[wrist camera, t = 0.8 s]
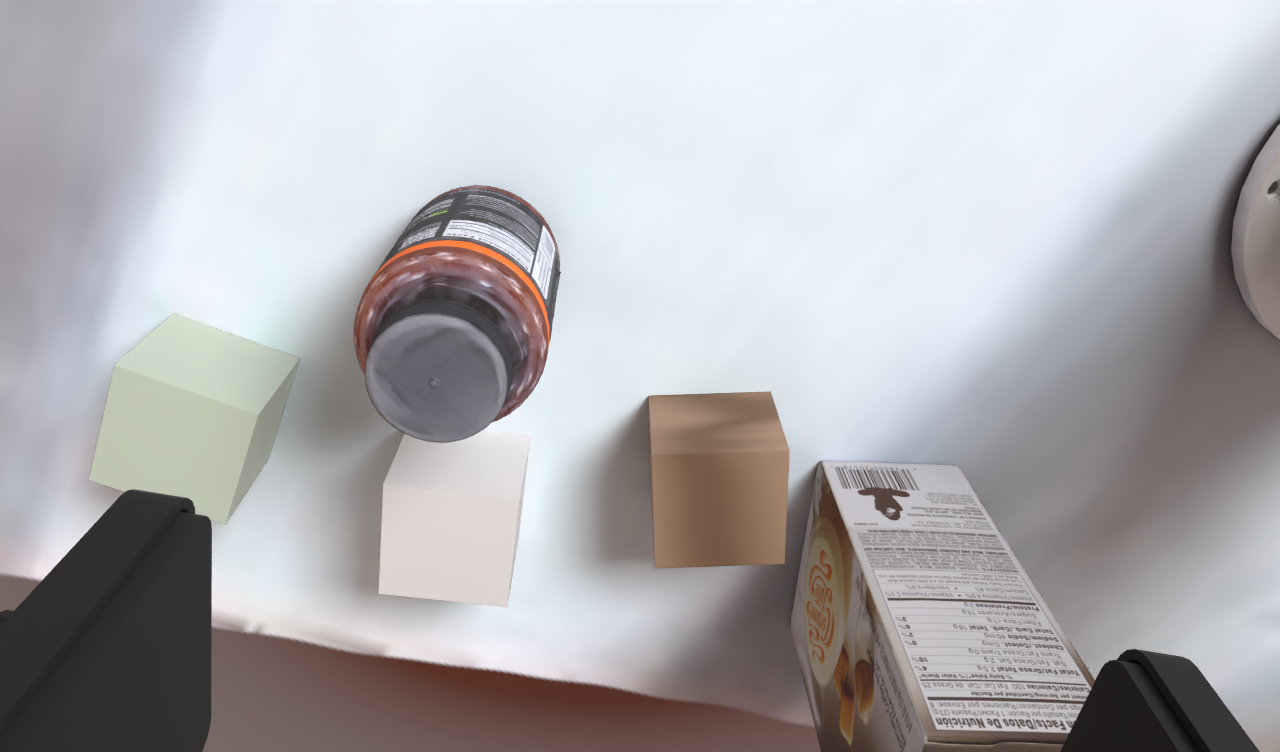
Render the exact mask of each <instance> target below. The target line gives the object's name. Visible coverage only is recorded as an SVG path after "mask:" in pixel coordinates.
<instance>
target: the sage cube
mask: <svg viewBox="0 0 1280 752" xmlns="http://www.w3.org/2000/svg"><path fill="white" fill-rule="evenodd" d="M299 360H300V358H298V357H296V356H293V355H290V354H287V353H285V352H282V351H279V350H276V349H274V348H271V347H268V346H265V345H262V344H260V343H257V342H254V341H251V340H249V339H246V338H243V337H240V336H238V335H235V334H232V333H229V332H226V331H224V330H221V329H218V328H215V327H213V326H210V325H207V324H204V323H202V322H199V321H196V320H193V319H190V318H188V317H185V316H182V315H179V314H177V313H173V314H172V315H171V316H170V317H169V318H167V319H166V320H165V321H164V322H163V323H162V324H161V325H159V326H158V327H157V328H156V329H155V330H154V331H153V332H151V333H150V334H149V335H148V336H147V337H146V338H145V339H144V340H142V341H141V342H140V343H139V344H138V345H137V346H136V347H134V348H133V349H132V350H131V351H130V352H129V353H128V354H126V355H125V356H124V357H123V358H122V359H121V360H120V361H118V362H117V363H116V364H115V365H114V370H113V374H112V378H111V383H110V387H109V392H108V396H107V401H106V405H105V410H104V414H103V418H102V423H101V427H100V432H99V436H98V441H97V445H96V450H95V454H94V459H93V463H92V467H91V472H90V476H89V480H90V481H93V482H96V483H99V484H102V485H105V486H108V487H111V488H114V489H117V490H121V491H124V492H126V491H127V490H132V489H135V490H141V491H148V492H154V493H160V494H166V495H173V496H179V497H185V498H189V499H190V500H192V501H193V504H194V506H195V514H198V515H204V516H207V517H209V519H210V520H213V521H216V522H219V523H222V524H225V525H226V523H227V521H228V520H229V518H230V517H231V515H232V514H233V512H234V511H235V509H236V508H237V506H238V505H239V503H240V502H241V500H242V499H243V497H244V496H245V494H246V493H247V491H248V489H249V488H250V486H251V485H252V483H253V482H254V480H255V479H256V477H257V476H258V474H259V473H260V471H261V470H262V468H263V467H264V465H265V464H266V462H267V461H268V459H269V456H270V453H271V450H272V447H273V443H274V440H275V437H276V434H277V431H278V427H279V424H280V421H281V418H282V414H283V411H284V408H285V405H286V402H287V398H288V395H289V392H290V389H291V386H292V382H293V379H294V376H295V373H296V370H297V366H298V363H299Z"/></svg>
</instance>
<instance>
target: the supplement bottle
mask: <svg viewBox="0 0 1280 752" xmlns="http://www.w3.org/2000/svg"><path fill="white" fill-rule="evenodd" d="M560 273H561V272H560V261H559V253H558V247H557V244H556V241H555V238H554V236H553V234H552V231H551V229H550V227H549V226H548V224H547V223H546V221H545V220H544V218H543V217H542V216H541V214H540V213H539V212H538V211H537V210H536V209H535V208H534V207H533V206H531V205H530V204H529V203H528V202H526V201H525V200H523V199H522V198H520V197H518V196H517V195H515V194H512V193H510V192H508V191H506V190H502V189H499V188H495V187H490V186H480V185H473V186H468V187H460V188H457V189H452V190H450V191H448V192H445V193H443V194H441V195H439V196H437V197H436V198H435V199H433V200H432V201H431V202H429V203H428V204H427V205H426V206H425V207H424V208H422V209H421V210H420V211H419V212H418V213H417V214H416V216H415V217H414V218H413V220H412V221H411V222H410V224H409V225H408V227H407V228H406V229H405V231H404V232H403V234H402V235H401V237H400V238H399V239H398V241H397V242H396V244H395V246H394V247H393V248H392V250H391V251H390V253H389V254H388V256H387V257H386V259H385V260H384V262H383V263H382V265H381V266H380V267H379V269H378V271H377V272H376V273H375V275H374V276H373V278H372V280H371V281H370V282H369V284H368V286H367V287H366V289H365V291H364V293H363V295H362V298H361V300H360V303H359V306H358V309H357V313H356V317H355V324H354V344H355V350H356V355H357V359H358V361H359V364H360V367H361V369H362V371H363V373H364V375H365V384H366V388H367V391H368V394H369V397H370V399H371V401H372V403H373V405H374V406H375V408H376V410H377V411H378V412H379V414H380V415H381V416H382V417H383V418H384V419H385V420H386V421H387V422H388V423H389V424H391V425H392V426H393V427H394V428H396V429H398V430H399V431H401V432H403V433H404V434H406V435H409V436H411V437H413V438H416V439H420V440H423V441H427V442H437V443H449V442H455V441H459V440H464V439H466V438H468V437H471V436H474V435H475V434H477V433H479V432H480V431H482V430H483V429H485V428H486V427H487V426H488V425H489V424H490V423H492V422H494V421H497V420H499V419H501V418H503V417H505V416H507V415H508V414H510V413H511V412H512V411H514V410H515V409H516V408H518V407H519V406H520V405H521V404H522V403H523V402H524V401H525V400H526V399H527V398H528V396H529V395H530V394H531V393H532V391H533V390H534V388H535V386H536V385H537V383H538V381H539V379H540V377H541V375H542V373H543V370H544V367H545V363H546V359H547V354H548V347H549V342H550V339H551V331H552V322H553V317H554V309H555V302H556V295H557V289H558V283H559V277H560Z"/></svg>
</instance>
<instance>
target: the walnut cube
mask: <svg viewBox="0 0 1280 752" xmlns="http://www.w3.org/2000/svg"><path fill="white" fill-rule="evenodd" d="M649 427H650V464H651V501H652V519H653V538H654V557H655V568H678V567H708V566H738V565H767V564H785V544H786V520H787V497H788V473H789V448H788V445H787V441H786V438H785V435H784V432H783V429H782V426H781V423H780V420H779V416H778V413H777V410H776V407H775V404H774V401H773V398H772V394H771V392H745V393H714V394H684V395H654V396H649Z"/></svg>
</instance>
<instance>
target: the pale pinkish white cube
mask: <svg viewBox="0 0 1280 752" xmlns="http://www.w3.org/2000/svg"><path fill="white" fill-rule="evenodd" d="M529 443H530V436H526V435H518V434H509V433H501V432H493V431H484V430H482V431H480V432H479V433H477V434H475V435H474V436H471V437H468V438H466V439H464V440H459V441H455V442H449V443H437V442H427V441H423V440H420V439H416V438H413V437H411V436H409V435H406V434H404V436H403V438H402V440H401V443H400V445H399V448H398V450H397V452H396V455H395V457H394V459H393V462H392V464H391V467H390V469H389V471H388V474H387V476H386V479H385V481H384V483H383V500H382V524H381V547H380V571H379V594H386V595H396V596H405V597H414V598H424V599H433V600H443V601H452V602H462V603H471V604H481V605H490V606H500V607H507V606H508V600H509V594H510V588H511V582H512V576H513V569H514V563H515V557H516V551H517V545H518V539H519V532H520V523H521V514H522V505H523V496H524V487H525V479H526V470H527V461H528V452H529Z"/></svg>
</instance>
